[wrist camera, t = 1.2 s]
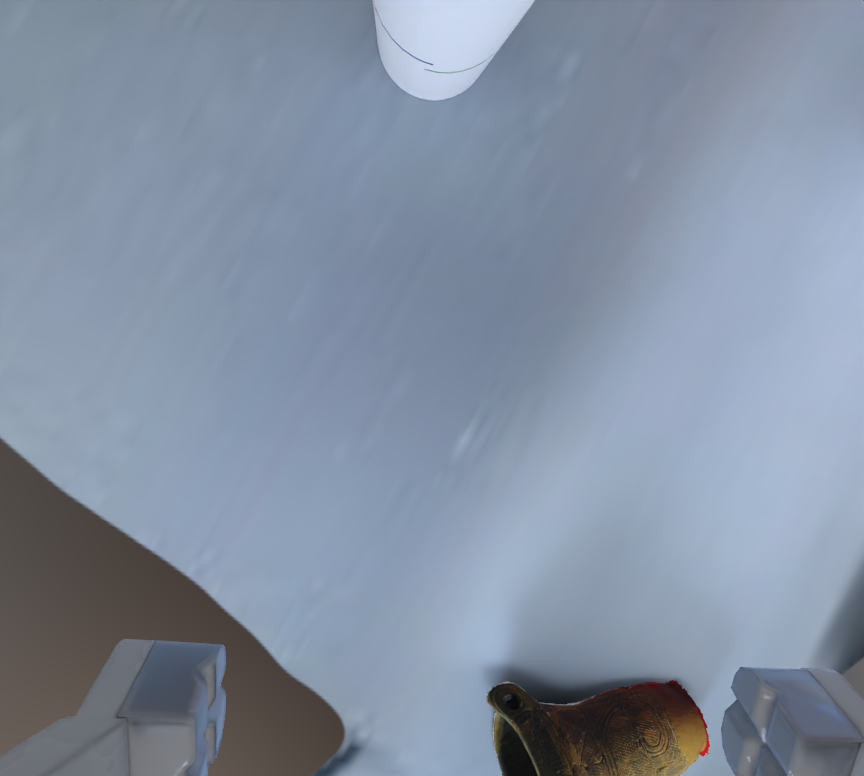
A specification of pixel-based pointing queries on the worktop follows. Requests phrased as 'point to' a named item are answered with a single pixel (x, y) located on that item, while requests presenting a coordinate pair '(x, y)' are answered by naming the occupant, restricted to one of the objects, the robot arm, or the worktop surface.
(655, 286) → the worktop surface
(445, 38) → the cylindrical container
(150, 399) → the worktop surface
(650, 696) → the bronze bell
